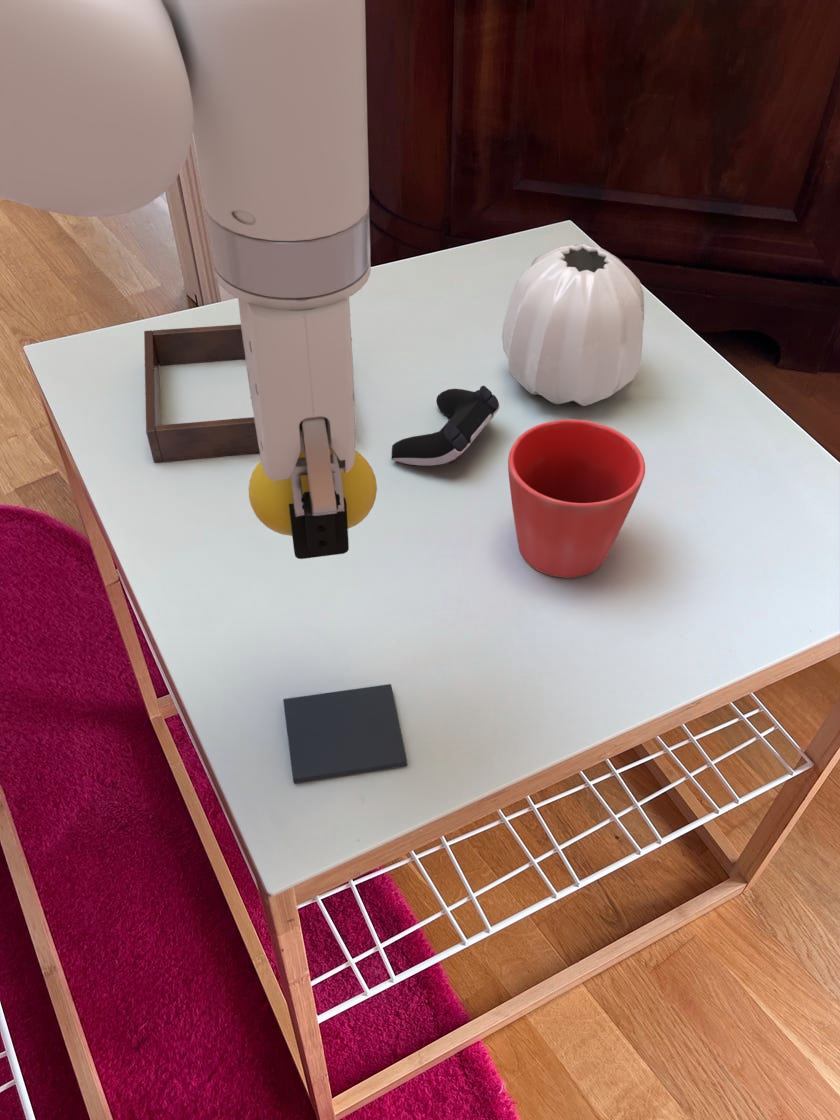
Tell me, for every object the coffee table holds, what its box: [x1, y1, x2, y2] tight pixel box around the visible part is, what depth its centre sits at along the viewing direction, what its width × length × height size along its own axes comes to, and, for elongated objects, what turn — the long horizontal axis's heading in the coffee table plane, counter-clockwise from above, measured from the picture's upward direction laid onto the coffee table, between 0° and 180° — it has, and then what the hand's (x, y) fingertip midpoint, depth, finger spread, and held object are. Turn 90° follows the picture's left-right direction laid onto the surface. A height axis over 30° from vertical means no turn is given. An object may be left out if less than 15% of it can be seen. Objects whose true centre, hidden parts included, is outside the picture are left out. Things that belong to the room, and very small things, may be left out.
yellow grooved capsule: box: [248, 449, 378, 537], centre depth 59 cm, size 8×5×5 cm
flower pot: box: [507, 419, 646, 579], centre depth 81 cm, size 11×11×10 cm
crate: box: [143, 323, 260, 463], centre depth 93 cm, size 18×16×4 cm
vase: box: [501, 243, 645, 407], centre depth 95 cm, size 14×14×13 cm
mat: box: [282, 683, 408, 784], centre depth 71 cm, size 8×7×1 cm
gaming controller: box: [391, 385, 501, 467], centre depth 91 cm, size 11×4×7 cm
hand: (314, 516), depth 60 cm, fingers closed on yellow grooved capsule, 5 cm apart
